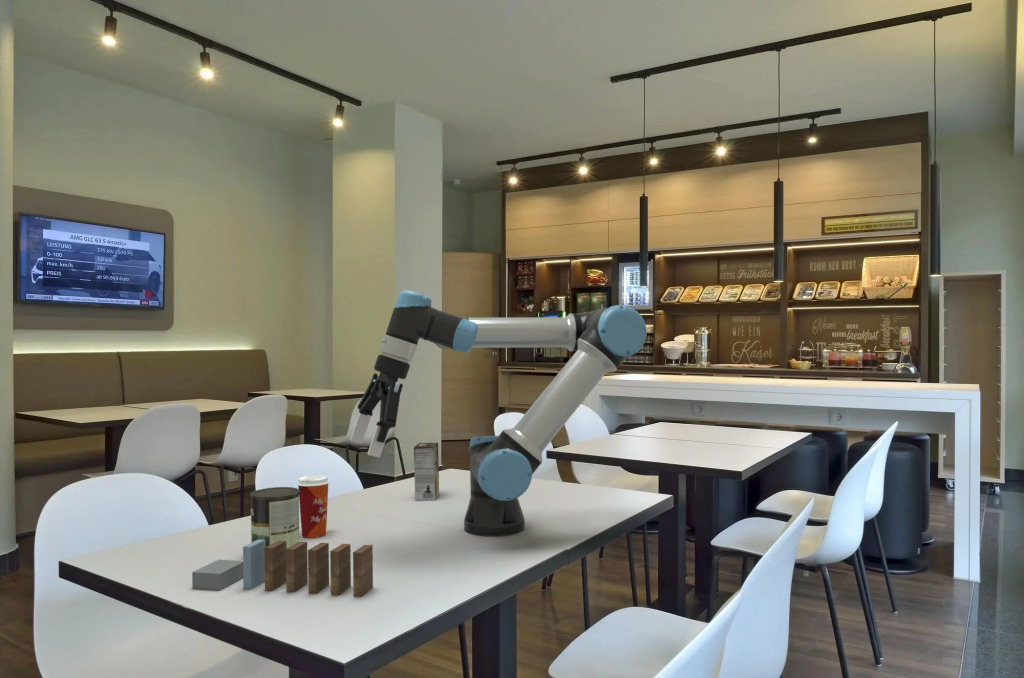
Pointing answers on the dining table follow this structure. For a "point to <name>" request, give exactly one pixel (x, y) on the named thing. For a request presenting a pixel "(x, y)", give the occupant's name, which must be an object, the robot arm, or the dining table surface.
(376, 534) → the dining table surface
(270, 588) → the domino
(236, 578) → the block
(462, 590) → the dining table surface
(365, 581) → the domino
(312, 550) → the domino
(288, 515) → the coffee can
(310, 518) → the paper cup
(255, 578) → the domino
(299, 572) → the domino
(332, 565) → the domino
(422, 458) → the coffee box
